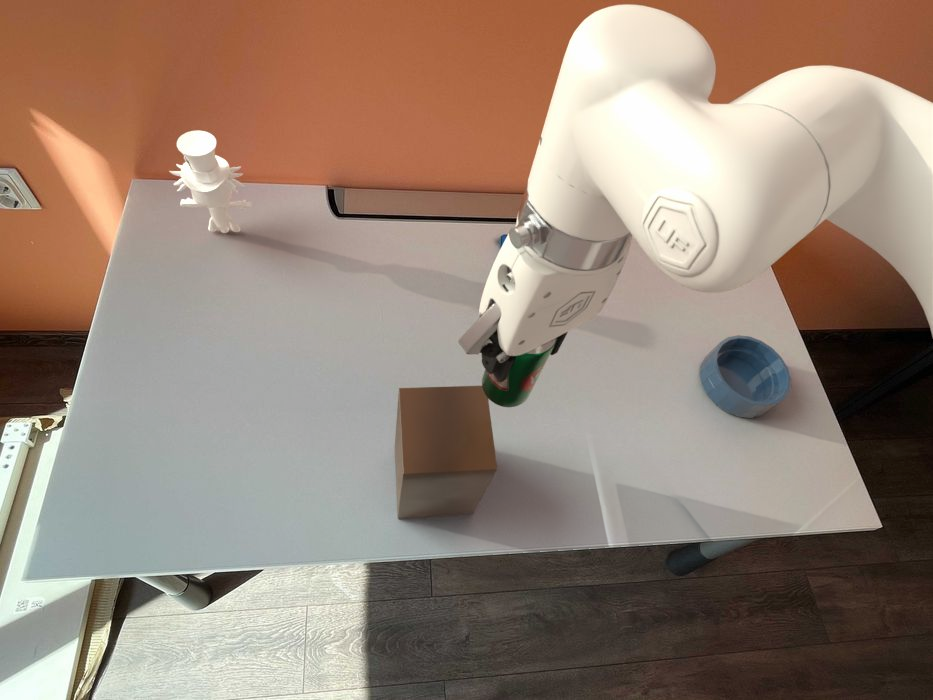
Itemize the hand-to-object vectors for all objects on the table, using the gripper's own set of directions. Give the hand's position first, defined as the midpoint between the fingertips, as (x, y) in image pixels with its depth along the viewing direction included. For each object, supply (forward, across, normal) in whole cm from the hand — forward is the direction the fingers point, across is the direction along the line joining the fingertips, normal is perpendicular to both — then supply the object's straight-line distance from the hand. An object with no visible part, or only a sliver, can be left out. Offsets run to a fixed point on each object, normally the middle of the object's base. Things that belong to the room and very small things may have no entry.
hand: (519, 354), depth 53 cm
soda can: (+7, 0, 0) cm, 7 cm away
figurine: (+31, -13, +54) cm, 64 cm away
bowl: (+31, +45, -10) cm, 56 cm away
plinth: (+31, -6, +1) cm, 32 cm away
